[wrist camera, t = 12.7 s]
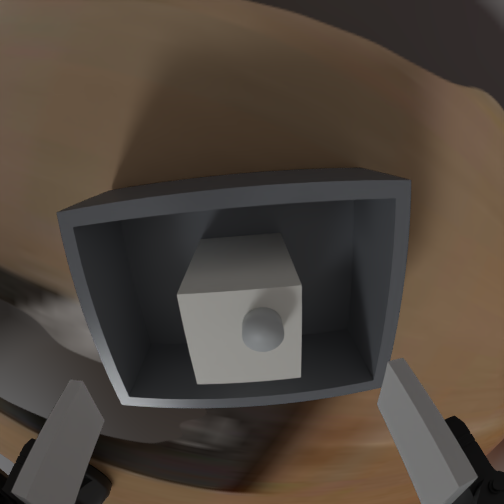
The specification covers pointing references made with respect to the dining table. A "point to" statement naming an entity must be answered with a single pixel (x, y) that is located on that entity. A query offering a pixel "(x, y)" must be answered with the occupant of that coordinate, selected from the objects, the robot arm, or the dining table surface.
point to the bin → (240, 224)
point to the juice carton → (242, 310)
